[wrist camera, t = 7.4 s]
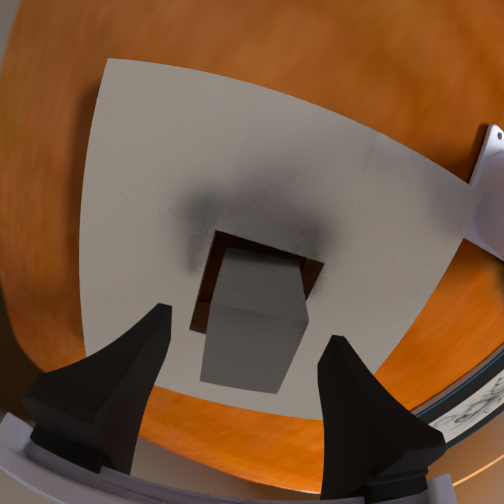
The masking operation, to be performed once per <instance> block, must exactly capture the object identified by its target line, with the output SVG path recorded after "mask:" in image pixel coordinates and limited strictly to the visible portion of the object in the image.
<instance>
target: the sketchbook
mask: <svg viewBox="0 0 504 504" xmlns="http://www.w3.org/2000/svg"><path fill="white" fill-rule="evenodd" d="M503 411H504V344H503V345H502V346H500V347H499V348H498V349H497V350H496V351H495V352H494V353H492V354H491V355H490V356H489V357H488V358H487V359H485V360H484V361H483V362H482V363H480V364H479V365H478V366H477V367H475V368H474V369H473V370H472V371H470V372H469V373H468V374H466V375H465V376H464V377H462V378H461V379H460V380H458V381H457V382H455V383H454V384H453V385H451V386H450V387H448V388H447V389H445V390H444V391H443V392H441V393H440V394H438V395H437V396H435V397H433V398H432V399H430V400H429V401H427V402H425V403H424V404H422V405H421V406H419V407H417V408H416V409H414V410H412V411H411V413H412V414H414V415H415V416H416V417H418V418H419V419H421V420H422V421H423V422H425V423H427V424H428V425H430V426H432V427H434V428H435V429H437V430H439V431H441V432H442V433H443V436H444V439H445V442H446V445H447V450H448V449H450V448H451V447H453V446H454V445H456V444H458V443H459V442H461V441H462V440H464V439H466V438H467V437H469V436H470V435H472V434H473V433H475V432H476V431H477V430H479V429H480V428H482V427H483V426H485V425H486V424H487V423H489V422H490V421H491V420H493V419H494V418H495V417H497V416H498V415H499V414H500V413H502V412H503Z"/></svg>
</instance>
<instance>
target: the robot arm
mask: <svg viewBox="0 0 504 504" xmlns="http://www.w3.org/2000/svg"><path fill="white" fill-rule="evenodd" d="M497 135H499V136H497ZM469 185H470V186H471V187H473V188H474V189H476V190H477V191H479V192H480V193H481V194H483V196H482V198H481V200H480V203H479V205H478V208H477V210H476V212H475V214H474V217H473V219H472V221H471V223H470V225H469V227H468V229H467V231H466V233H465V235H464V238H465V239H467V240H469V241H471V242H472V243H474V244H476V245H478V246H479V247H481V248H483V249H485V250H486V251H488V252H490V253H491V254H493V255H495V256H496V257H498V258H500V259H501V260H503V261H504V132H503V131H502V130H501V129H500V128H499V127H498V126H497V125H494V124H490V125H489V127H488V129H487V133H486V136H485V139H484V142H483V146H482V149H481V152H480V154H479V157H478V160H477V163H476V166H475V168H474V171H473V174H472V176H471V179H470V182H469ZM171 327H172V306H171V305H167V304H162V303H158V304H156V305H155V306H154V307H153V308H152V309H151V310H150V311H149V312H148V313H147V314H146V315H145V316H144V317H143V318H142V319H141V320H139V321H138V322H137V323H136V324H135V325H134V326H132V327H131V328H130V329H129V330H128V331H126V332H125V333H124V334H122V335H121V336H120V337H118V338H117V339H116V340H114V341H113V342H112V343H110V344H109V345H107V346H106V347H104V348H102V349H101V350H99V351H97V352H96V353H94V354H92V355H90V356H88V357H86V358H84V359H82V360H80V361H78V362H76V363H73V364H71V365H68V366H66V367H63V368H60V369H57V370H54V371H51V372H47V373H44V374H40V375H38V376H37V377H36V378H35V380H34V381H33V382H32V384H31V385H30V387H29V389H28V390H27V392H26V394H25V396H24V397H23V404H24V406H25V408H26V409H27V411H28V412H29V414H30V415H31V417H32V418H33V419H34V421H35V422H36V423H37V424H36V426H35V427H34V429H33V428H32V427H31V426H29V425H28V424H27V423H25V422H23V421H22V420H20V419H19V418H17V417H15V416H14V415H12V414H11V413H7V414H6V416H5V417H4V419H3V421H2V423H1V425H0V468H1V469H2V470H3V471H5V472H6V473H7V474H9V475H10V476H11V477H13V478H14V479H15V480H17V481H19V482H20V483H22V484H23V485H25V486H26V487H28V488H30V489H31V490H33V491H34V492H36V493H38V494H39V495H41V496H43V497H45V498H47V499H48V500H50V501H52V502H54V503H56V504H163V503H165V504H457V500H456V496H455V492H454V489H453V485H452V481H451V478H450V474H449V473H446V474H443V475H440V476H436V477H433V478H430V479H428V480H426V478H425V475H427V474H428V469H427V467H428V466H429V465H431V464H432V463H433V462H435V461H436V460H437V459H439V458H440V457H441V456H442V455H443V454H444V453H445V452H446V450H447V445H446V442H445V439H444V436H443V433H442V432H441V431H439V430H437V429H435V428H434V427H432V426H430V425H428V424H427V423H425V422H423V421H422V420H421V419H419V418H418V417H416V416H415V415H414V414H412V413H411V412H410V411H408V410H407V409H406V408H405V407H404V406H402V405H401V404H400V403H399V402H398V401H397V400H396V399H395V398H394V397H393V396H392V395H391V394H390V393H389V392H388V391H387V390H386V389H385V388H384V387H383V386H382V385H381V384H380V383H379V381H378V380H377V379H376V378H375V377H374V376H373V374H372V373H371V372H370V370H369V369H368V368H367V367H366V365H365V364H364V363H363V361H362V360H361V358H360V357H359V356H358V354H357V353H356V352H355V350H354V349H353V347H352V346H351V345H350V343H349V342H348V340H347V339H346V338H345V337H344V336H339V335H332V336H331V338H330V340H329V342H328V344H327V346H326V348H325V350H324V352H323V354H322V356H321V358H320V360H319V362H318V364H317V380H318V390H319V396H320V403H321V409H322V416H323V423H324V469H323V481H322V489H321V497H320V500H318V501H271V500H269V501H268V500H253V499H242V498H233V497H224V496H217V495H211V494H204V493H199V492H193V491H188V490H183V489H179V488H174V487H170V486H166V485H161V484H158V483H154V482H150V481H147V480H144V479H140V478H137V477H133V476H131V475H130V471H131V466H132V461H133V456H134V451H135V446H136V442H137V437H138V433H139V429H140V425H141V422H142V418H143V414H144V411H145V407H146V404H147V401H148V398H149V395H150V393H151V391H152V388H153V386H154V384H155V381H156V379H157V377H158V374H159V372H160V370H161V367H162V365H163V363H164V360H165V358H166V355H167V351H168V348H169V344H170V341H171Z"/></svg>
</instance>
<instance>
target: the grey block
mask: <svg viewBox="0 0 504 504" xmlns="http://www.w3.org/2000/svg"><path fill="white" fill-rule="evenodd" d="M308 323H309V317H308V311H307V306H306V300H305V294H304V289H303V284H302V278H301V273H300V268H299V263H298V261H294V260H289V259H288V258H287V251H284V250H281V249H277V248H274V247H271V246H268V245H264V244H261V243H258V242H254V241H251V240H248V239H245V238H241V237H238V236H237V238H236V242H235V246H234V248H230V247H226V250H225V254H224V257H223V261H222V265H221V268H220V272H219V275H218V279H217V283H216V286H215V290H214V293H213V297H212V301H211V305H210V312H209V318H208V325H207V332H206V338H205V345H204V352H203V360H202V367H201V374H200V382H205V383H210V384H215V385H221V386H226V387H232V388H238V389H244V390H250V391H257V392H264V393H272V394H277V393H278V391H279V389H280V387H281V385H282V382H283V380H284V378H285V376H286V374H287V372H288V369H289V367H290V365H291V363H292V361H293V358H294V356H295V354H296V352H297V349H298V347H299V345H300V342H301V340H302V338H303V335H304V333H305V331H306V328H307V326H308Z"/></svg>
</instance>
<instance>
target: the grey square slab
mask: <svg viewBox="0 0 504 504" xmlns="http://www.w3.org/2000/svg"><path fill="white" fill-rule="evenodd" d="M482 196H483V194H481V193H480V192H479V191H477V190H476V189H474V188H473V187H471V186H470V185H469V184H467V183H466V182H464V181H463V180H461V179H460V178H458V177H457V176H455V175H454V174H452V173H451V172H449V171H447V170H446V169H444V168H443V167H441V166H439V165H438V164H436V163H434V162H433V161H431V160H429V159H428V158H426V157H424V156H423V155H421V154H419V153H417V152H416V151H414V150H412V149H410V148H408V147H406V146H405V145H403V144H401V143H399V142H397V141H395V140H393V139H391V138H389V137H387V136H385V135H383V134H381V133H379V132H377V131H375V130H373V129H371V128H369V127H367V126H365V125H363V124H360V123H358V122H356V121H354V120H351V119H349V118H347V117H344V116H342V115H340V114H337V113H335V112H333V111H330V110H328V109H325V108H323V107H320V106H317V105H315V104H312V103H309V102H307V101H304V100H301V99H298V98H296V97H293V96H290V95H287V94H284V93H281V92H278V91H275V90H271V89H268V88H265V87H262V86H258V85H255V84H251V83H248V82H244V81H240V80H236V79H233V78H229V77H224V76H220V75H216V74H212V73H207V72H202V71H197V70H192V69H187V68H182V67H176V66H170V65H164V64H157V63H150V62H142V61H133V60H122V59H109V58H108V60H107V64H106V67H105V71H104V74H103V78H102V82H101V85H100V89H99V93H98V98H97V102H96V106H95V111H94V116H93V120H92V126H91V131H90V137H89V143H88V149H87V155H86V163H85V170H84V179H83V189H82V200H81V215H80V238H79V276H80V299H81V313H82V325H83V334H84V343H85V351H86V357H88V356H90V355H92V354H94V353H96V352H97V351H99V350H101V349H102V348H104V347H106V346H107V345H109V344H110V343H112V342H113V341H114V340H116V339H117V338H118V337H120V336H121V335H122V334H124V333H125V332H126V331H128V330H129V329H130V328H131V327H132V326H134V325H135V324H136V323H137V322H138V321H139V320H141V319H142V318H143V317H144V316H145V315H146V314H147V313H148V312H149V311H150V310H151V309H152V308H153V307H154V306H155V305H156V304H158V303H162V304H167V305H171V306H172V327H171V341H170V344H169V348H168V351H167V355H166V358H165V360H164V363H163V365H162V367H161V370H160V372H159V374H158V377H157V379H156V381H155V384H154V385H156V386H160V387H163V388H166V389H169V390H172V391H176V392H179V393H183V394H186V395H190V396H193V397H197V398H201V399H205V400H209V401H213V402H217V403H221V404H225V405H230V406H234V407H239V408H244V409H249V410H254V411H260V412H265V413H271V414H277V415H284V416H291V417H298V418H306V419H315V420H323V416H322V409H321V403H320V396H319V390H318V380H317V364H318V362H319V360H320V358H321V356H322V354H323V352H324V350H325V348H326V346H327V344H328V342H329V340H330V338H331V336H332V335H339V336H344V337H345V338H346V339H347V340H348V342H349V343H350V345H351V346H352V347H353V349H354V350H355V352H356V353H357V354H358V356H359V357H360V358H361V360H362V361H363V363H364V364H365V365H366V367H367V368H368V369H369V370H370V372H371V373H372V374H374V373H375V372H376V371H377V370H378V368H379V367H380V366H381V365H382V363H383V362H384V361H385V360H386V358H387V357H388V356H389V355H390V353H391V352H392V351H393V349H394V348H395V347H396V345H397V344H398V343H399V341H400V340H401V339H402V337H403V336H404V335H405V333H406V332H407V330H408V329H409V328H410V326H411V325H412V323H413V322H414V320H415V319H416V318H417V316H418V315H419V313H420V312H421V310H422V309H423V307H424V306H425V304H426V302H427V301H428V299H429V298H430V296H431V295H432V293H433V291H434V290H435V288H436V286H437V285H438V283H439V281H440V280H441V278H442V276H443V275H444V273H445V271H446V269H447V268H448V266H449V264H450V262H451V260H452V259H453V257H454V255H455V253H456V251H457V249H458V247H459V245H460V243H461V241H462V240H463V238H464V235H465V233H466V231H467V229H468V227H469V225H470V223H471V221H472V219H473V217H474V214H475V212H476V210H477V208H478V205H479V203H480V200H481V198H482ZM217 231H222V232H225V233H228V234H231V235H235V236H238V237H241V238H245V239H248V240H251V241H254V242H258V243H261V244H264V245H268V246H271V247H274V248H277V249H281V250H284V251H287V252H290V253H294V254H297V255H300V256H303V257H306V258H307V260H306V262H305V264H304V266H303V268H302V271H301V278H302V284H303V289H304V294H305V300H306V306H307V311H308V317H309V323H308V326H307V328H306V331H305V333H304V335H303V338H302V340H301V342H300V345H299V347H298V349H297V352H296V354H295V356H294V358H293V361H292V363H291V365H290V367H289V369H288V372H287V374H286V376H285V378H284V380H283V382H282V385H281V387H280V389H279V391H278V393H277V394H272V393H264V392H257V391H250V390H244V389H238V388H232V387H226V386H221V385H215V384H210V383H205V382H200V374H201V367H202V360H203V352H204V345H205V338H206V332H207V325H208V318H209V312H210V305H211V304H210V303H207V302H204V301H200V300H199V296H200V293H201V289H202V285H203V281H204V278H205V274H206V270H207V267H208V263H209V259H210V256H211V252H212V249H213V245H214V241H215V238H216V234H217Z"/></svg>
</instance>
